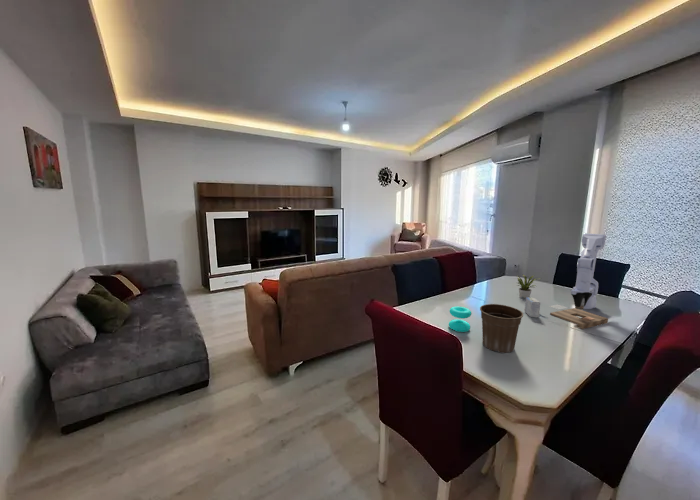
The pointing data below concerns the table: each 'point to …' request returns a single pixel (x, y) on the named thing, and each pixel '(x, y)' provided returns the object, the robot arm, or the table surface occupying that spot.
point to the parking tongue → (558, 307)
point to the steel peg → (581, 305)
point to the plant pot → (500, 326)
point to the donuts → (457, 323)
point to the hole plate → (583, 323)
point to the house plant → (525, 287)
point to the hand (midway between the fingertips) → (579, 306)
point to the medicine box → (532, 307)
